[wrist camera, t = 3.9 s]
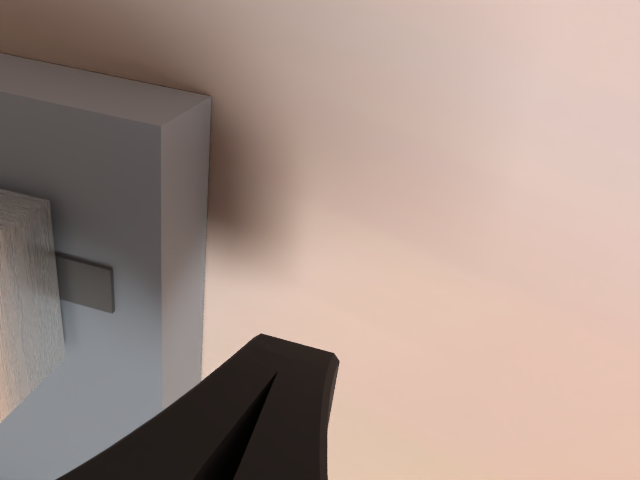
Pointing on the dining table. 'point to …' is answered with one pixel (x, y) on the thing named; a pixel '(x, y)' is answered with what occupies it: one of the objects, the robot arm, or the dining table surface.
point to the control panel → (108, 252)
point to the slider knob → (27, 298)
